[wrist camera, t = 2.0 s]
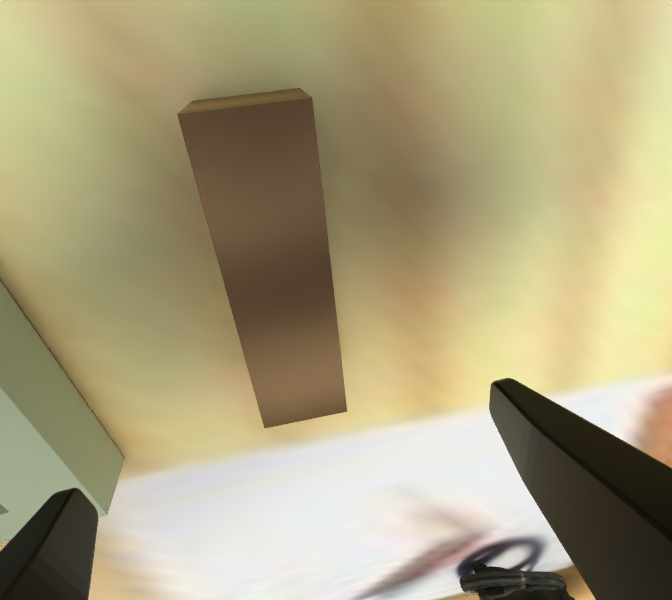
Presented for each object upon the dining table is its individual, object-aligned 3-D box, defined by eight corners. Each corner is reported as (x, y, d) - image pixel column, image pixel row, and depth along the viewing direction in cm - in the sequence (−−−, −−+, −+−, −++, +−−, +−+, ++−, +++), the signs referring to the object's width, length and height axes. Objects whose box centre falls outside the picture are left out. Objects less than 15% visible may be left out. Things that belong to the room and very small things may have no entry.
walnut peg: (332, 358, 20) (347, 411, 17) (262, 372, 20) (264, 428, 17) (298, 87, 14) (311, 97, 11) (193, 100, 13) (177, 114, 10)
